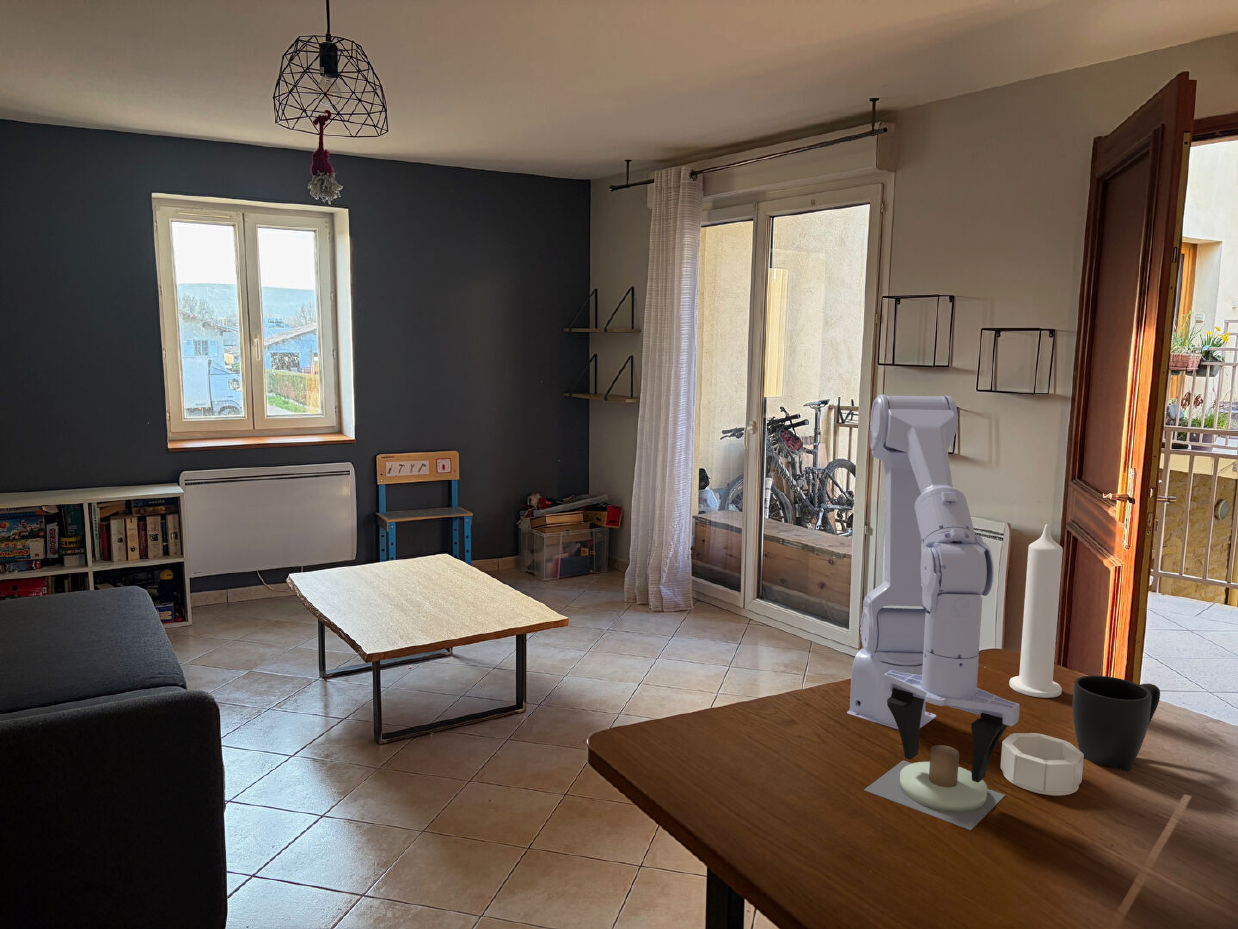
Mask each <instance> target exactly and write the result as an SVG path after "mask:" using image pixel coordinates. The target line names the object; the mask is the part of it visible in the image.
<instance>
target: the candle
mask: <svg viewBox="0 0 1238 929" xmlns="http://www.w3.org/2000/svg"><path fill="white" fill-rule="evenodd" d="M1027 550H1028V551H1027V565H1026V579H1025V580H1026V581H1025V592H1024V595H1025V596H1024V603H1023V604H1024V606H1023V607H1024V608H1023V620H1022V633H1021V645H1020V646H1021V648H1020V663H1019V675H1017V676H1012V677H1011V678H1010V679H1009V684H1008V685H1009V686H1010V688H1011V689H1012V690H1014V691H1015V692H1017V693H1020V694H1023V695H1025V696H1030V697H1034V698H1043V699H1048V698H1051V699H1052V698H1057V697H1059V696H1061V695H1062V693H1063V688H1062V686H1061V685H1060V684H1059V683H1057V682H1056V681H1055V680H1053V679H1054V669H1055V656H1056V643H1057V642H1056V641H1057V629H1058V616H1059V605H1060V603H1059V602H1060V592H1061V576H1062V564H1063V552H1064V549H1063V547H1062V546H1061V545H1060V544H1059V543H1058V542H1056V541H1055V540H1054V539H1053V537H1052V534H1051V529H1050V525H1049V524H1045V525H1044V528H1043V532H1042V533H1041V536H1039V538H1038V539H1037V540H1035V541H1033V542H1031V543H1029V545H1028V549H1027Z"/></svg>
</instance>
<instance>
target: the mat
mask: <svg viewBox="0 0 1238 929" xmlns="http://www.w3.org/2000/svg"><path fill="white" fill-rule="evenodd" d="M913 763H914V762H913ZM913 763H912V762H909V761H906V760H904V759H903V760H902V761H900V762H898V764H896V765H894V766H893V767H892V768H891V769H890V770H888V771H887V772H885V773H884V774H883V775H882V776H880V777H878V778H877V779H876V780H875V781H874V782H872V783H871V784H870V785H868V786H867V787H866V788H865V789H863V791H864V792H866V793H870V794H872V795H875V796H878V797H881V798H883V799H886V800H889V801H891V802H894V803H896V804H899V805H902V806H905V807H907V808H910V809H913V810H915V811H917V812H920V813H923V814H926V815H928V816H931V817H934V818H936V819H939V820H942V821H944V822H948V823H950V824H953V825H955V826H958V827H961V828H963V829H966V830H968V831H972V830H974V828H975V827H976V826H977V825H978V824H979V822H981V821H982V820H983V819H984V818H985V817H986V816H987V815H988V814H989V813H990V812H991V811H992V810H993V809H994V807H995V806H997V804H999V803H1000V801H1002V799H1003V798H1005V797H1006V794H1004V793H1000V792H999V791H995V790H993V789H989V788H987V800H986V803H985V804H984V805H983V806H982V807H981V808H979V809H976V810H973V811H967V812H950V811H942V810H938V809H934V808H930V807H927V806H924V805H922V804H919V803H917V802H915V801H914V800H912V799H910V798H909V797H908V796H906V795H905V794H904V793H903V791H902V790H901V788H900V772H901V770H902V769H903V768H904V767H905V766H907V765H909V764H913Z"/></svg>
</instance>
